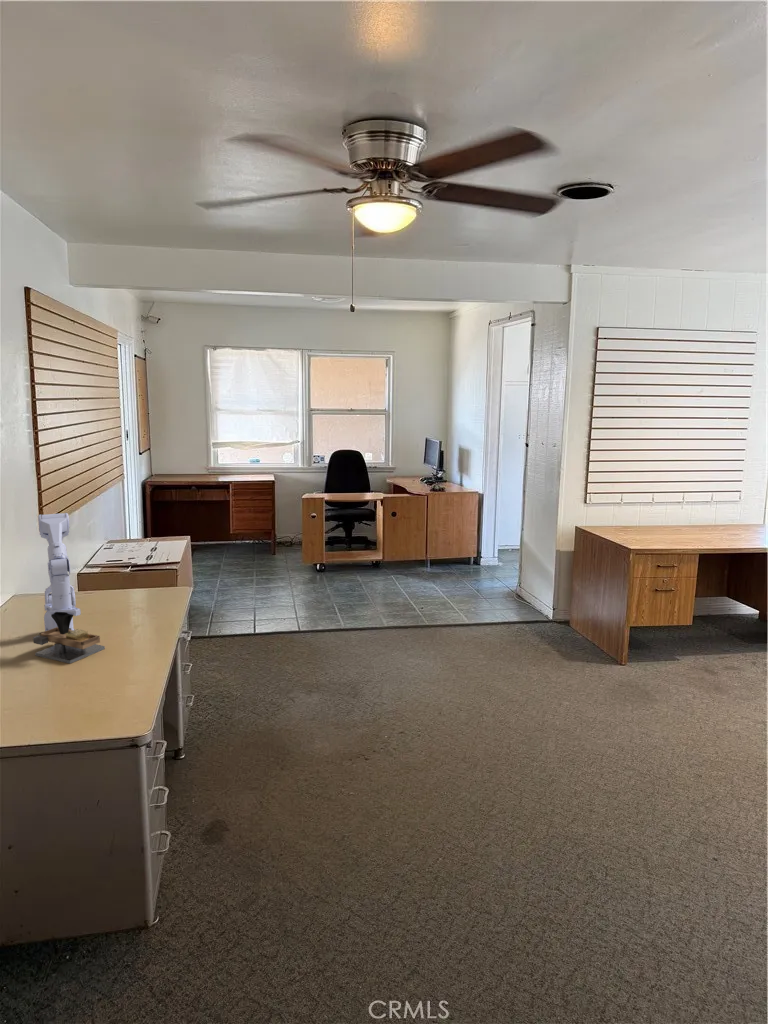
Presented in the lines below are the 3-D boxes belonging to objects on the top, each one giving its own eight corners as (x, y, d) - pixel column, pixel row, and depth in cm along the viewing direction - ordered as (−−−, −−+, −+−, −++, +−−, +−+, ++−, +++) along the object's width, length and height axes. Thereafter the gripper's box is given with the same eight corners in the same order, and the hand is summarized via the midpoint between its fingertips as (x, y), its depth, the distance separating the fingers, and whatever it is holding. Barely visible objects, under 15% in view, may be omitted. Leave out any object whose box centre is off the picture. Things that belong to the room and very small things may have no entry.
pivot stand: (35, 655, 216) (34, 642, 215) (71, 641, 228) (70, 629, 228) (70, 663, 209) (69, 650, 208) (104, 648, 222) (103, 636, 221)
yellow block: (66, 640, 215) (65, 632, 215) (77, 636, 219) (77, 628, 219) (76, 642, 213) (76, 635, 213) (88, 638, 217) (87, 631, 217)
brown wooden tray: (33, 643, 217) (32, 635, 216) (63, 632, 227) (62, 624, 227) (76, 652, 209) (76, 645, 208) (105, 641, 219) (105, 633, 219)
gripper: (35, 594, 216) (38, 633, 218) (66, 600, 210) (69, 640, 212) (53, 589, 222) (56, 627, 224) (84, 594, 216) (87, 633, 219)
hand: (64, 633), depth 219 cm, fingers closed
